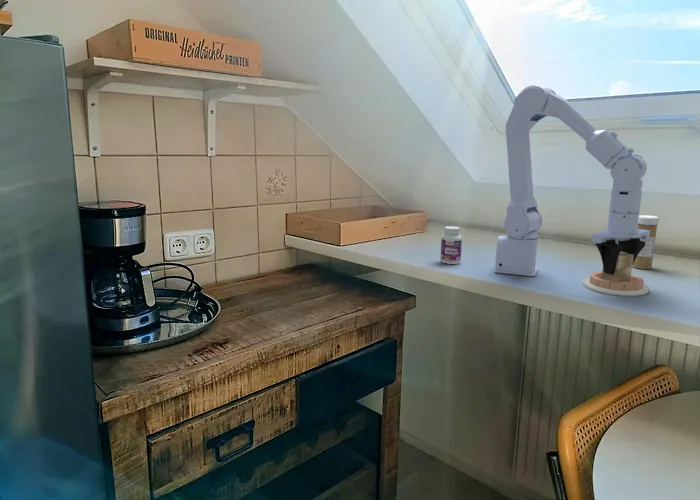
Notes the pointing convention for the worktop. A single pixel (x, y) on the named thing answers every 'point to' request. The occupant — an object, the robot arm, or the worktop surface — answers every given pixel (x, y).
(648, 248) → the sprinkles bottle
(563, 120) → the robot arm
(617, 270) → the beige wooden block
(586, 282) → the collar dish
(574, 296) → the worktop surface
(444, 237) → the pill bottle
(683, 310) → the worktop surface
